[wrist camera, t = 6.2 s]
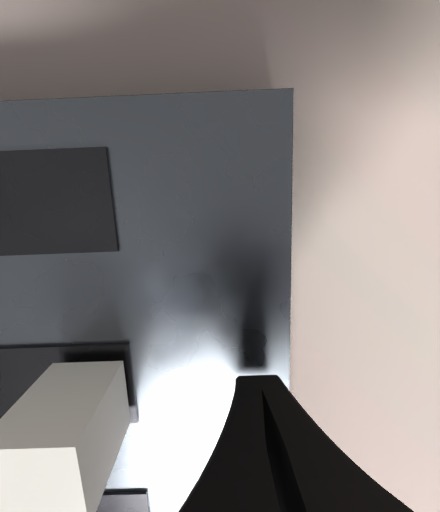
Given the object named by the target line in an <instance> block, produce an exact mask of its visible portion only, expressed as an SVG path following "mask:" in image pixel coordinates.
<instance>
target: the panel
mask: <svg viewBox="0 0 440 512" xmlns="http://www.w3.org/2000/svg"><path fill="white" fill-rule="evenodd" d="M292 152H293V88H285V89H262V90H239V91H217V92H194V93H171V94H149V95H126V96H103V97H81V98H58V99H35V100H13V101H0V419H1V418H2V416H3V415H4V414H5V413H6V412H7V411H8V410H9V409H10V408H11V407H12V406H13V405H14V404H15V403H16V402H17V401H18V399H19V398H20V397H21V396H22V395H23V394H24V393H25V392H26V391H27V390H28V389H29V388H30V387H31V386H32V385H33V383H34V382H35V381H36V380H37V379H38V378H39V377H40V376H41V375H42V374H43V373H44V372H45V371H46V370H47V369H48V368H49V366H50V365H51V364H52V363H72V362H101V361H123V364H124V372H125V380H126V388H127V396H128V404H129V412H130V420H131V422H130V424H129V427H128V429H127V432H126V435H125V437H124V440H123V443H122V445H121V448H120V450H119V453H118V456H117V458H116V461H115V464H114V466H113V469H112V471H111V474H110V477H109V479H108V482H107V485H106V487H105V490H104V492H103V495H102V498H101V500H100V503H99V506H98V508H97V511H96V512H178V511H179V510H180V508H181V507H182V505H183V504H184V502H185V500H186V499H187V497H188V495H189V494H190V492H191V490H192V489H193V487H194V485H195V484H196V482H197V480H198V479H199V477H200V475H201V473H202V471H203V469H204V468H205V466H206V464H207V462H208V460H209V458H210V456H211V454H212V452H213V450H214V447H215V445H216V443H217V441H218V438H219V436H220V433H221V431H222V429H223V426H224V424H225V421H226V418H227V415H228V412H229V409H230V406H231V403H232V399H233V395H234V390H235V379H236V378H237V377H238V376H248V375H278V376H279V377H280V378H281V380H282V381H283V383H284V384H285V386H286V387H287V388H288V390H289V371H290V298H291V225H292Z"/></svg>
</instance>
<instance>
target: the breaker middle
mask: <svg viewBox="0 0 440 512" xmlns="http://www.w3.org/2000/svg"><path fill="white" fill-rule="evenodd" d="M130 422H131V420H130V412H129V404H128V396H127V388H126V380H125V372H124V364H123V361H101V362H72V363H52V364H51V365H50V366H49V368H48V369H47V370H46V371H45V372H44V373H43V374H42V375H41V376H40V377H39V378H38V379H37V380H36V381H35V382H34V383H33V385H32V386H31V387H30V388H29V389H28V390H27V391H26V392H25V393H24V394H23V395H22V396H21V397H20V398H19V399H18V401H17V402H16V403H15V404H14V405H13V406H12V407H11V408H10V409H9V410H8V411H7V412H6V413H5V414H4V415H3V416H2V418H1V419H0V512H96V511H97V508H98V506H99V503H100V500H101V498H102V495H103V492H104V490H105V487H106V485H107V482H108V479H109V477H110V474H111V471H112V469H113V466H114V464H115V461H116V458H117V456H118V453H119V450H120V448H121V445H122V443H123V440H124V437H125V435H126V432H127V429H128V427H129V424H130Z"/></svg>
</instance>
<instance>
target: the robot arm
mask: <svg viewBox="0 0 440 512" xmlns="http://www.w3.org/2000/svg"><path fill="white" fill-rule="evenodd" d="M178 512H414V511H412V510H411V509H410V508H408V507H407V506H406V505H405V504H403V503H402V502H401V501H400V500H398V499H397V498H396V497H394V496H393V495H392V494H391V493H389V492H388V491H387V490H385V489H384V488H383V487H382V486H380V485H379V484H378V483H377V482H376V481H374V480H373V479H372V478H371V477H370V476H369V475H367V474H366V473H365V472H364V471H363V470H362V469H361V468H360V467H359V466H358V465H356V464H355V463H354V462H353V461H352V460H351V459H350V458H349V457H348V456H347V455H346V454H345V453H344V452H343V451H342V450H341V449H340V448H339V447H338V446H337V445H336V444H335V443H334V442H333V441H332V440H331V439H330V438H329V437H328V436H327V435H326V434H325V433H324V432H323V431H322V429H321V428H320V427H319V426H318V425H317V424H316V423H315V422H314V420H313V419H312V418H311V417H310V416H309V415H308V413H307V412H306V411H305V410H304V409H303V408H302V406H301V405H300V404H299V403H298V401H297V400H296V399H295V398H294V396H293V395H292V394H291V392H290V391H289V390H288V388H287V387H286V386H285V384H284V383H283V381H282V380H281V378H280V377H279V376H278V375H248V376H238V377H237V378H236V379H235V390H234V395H233V399H232V403H231V406H230V409H229V412H228V415H227V418H226V421H225V424H224V426H223V429H222V431H221V433H220V436H219V438H218V441H217V443H216V445H215V447H214V450H213V452H212V454H211V456H210V458H209V460H208V462H207V464H206V466H205V468H204V469H203V471H202V473H201V475H200V477H199V479H198V480H197V482H196V484H195V485H194V487H193V489H192V490H191V492H190V494H189V495H188V497H187V499H186V500H185V502H184V504H183V505H182V507H181V508H180V510H179V511H178Z"/></svg>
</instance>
